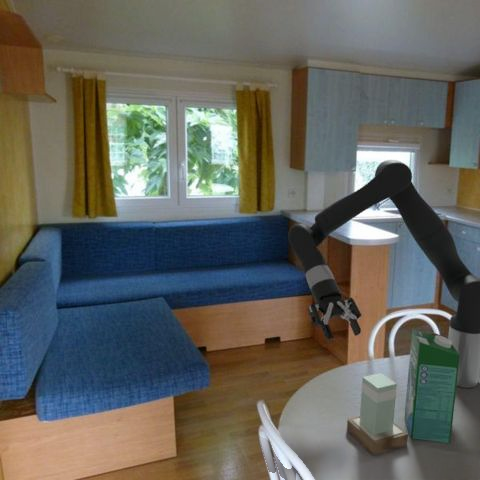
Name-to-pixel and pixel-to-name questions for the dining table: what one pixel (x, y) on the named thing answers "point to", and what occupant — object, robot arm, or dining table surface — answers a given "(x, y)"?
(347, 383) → the dining table surface
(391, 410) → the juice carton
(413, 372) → the milk carton
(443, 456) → the dining table surface
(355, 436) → the walnut podium
